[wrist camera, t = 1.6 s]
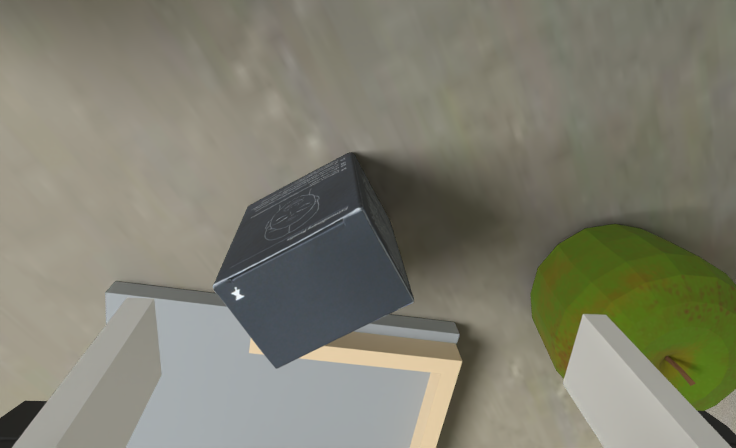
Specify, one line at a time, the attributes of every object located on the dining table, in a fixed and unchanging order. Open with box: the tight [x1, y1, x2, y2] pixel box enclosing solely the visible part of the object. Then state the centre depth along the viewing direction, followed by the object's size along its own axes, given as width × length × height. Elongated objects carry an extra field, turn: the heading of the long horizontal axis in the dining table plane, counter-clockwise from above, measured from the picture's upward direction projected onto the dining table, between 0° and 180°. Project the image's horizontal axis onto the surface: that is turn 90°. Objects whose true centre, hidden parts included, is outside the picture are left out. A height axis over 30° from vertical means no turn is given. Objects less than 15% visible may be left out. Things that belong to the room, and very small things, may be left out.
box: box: [213, 153, 414, 369], centre depth 27 cm, size 8×6×11 cm
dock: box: [105, 281, 462, 448], centre depth 35 cm, size 24×16×4 cm, turn 80°
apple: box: [531, 224, 736, 411], centre depth 30 cm, size 11×11×11 cm
